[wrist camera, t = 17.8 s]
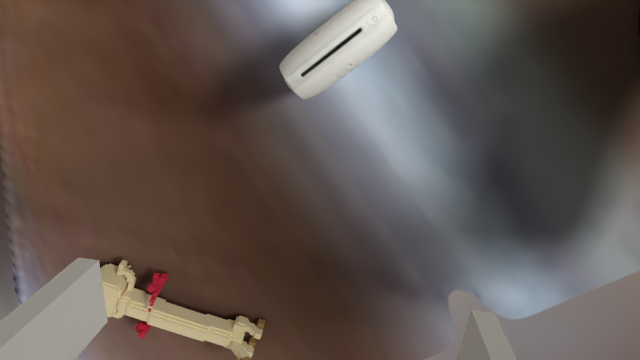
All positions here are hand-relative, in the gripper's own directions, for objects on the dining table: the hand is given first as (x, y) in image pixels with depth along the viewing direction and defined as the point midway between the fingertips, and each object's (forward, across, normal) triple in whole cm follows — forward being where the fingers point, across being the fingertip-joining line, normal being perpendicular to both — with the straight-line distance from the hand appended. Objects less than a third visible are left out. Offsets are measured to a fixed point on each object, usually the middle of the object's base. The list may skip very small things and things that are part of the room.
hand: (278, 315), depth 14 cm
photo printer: (+32, 0, +8) cm, 33 cm away
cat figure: (+32, -19, -28) cm, 47 cm away
